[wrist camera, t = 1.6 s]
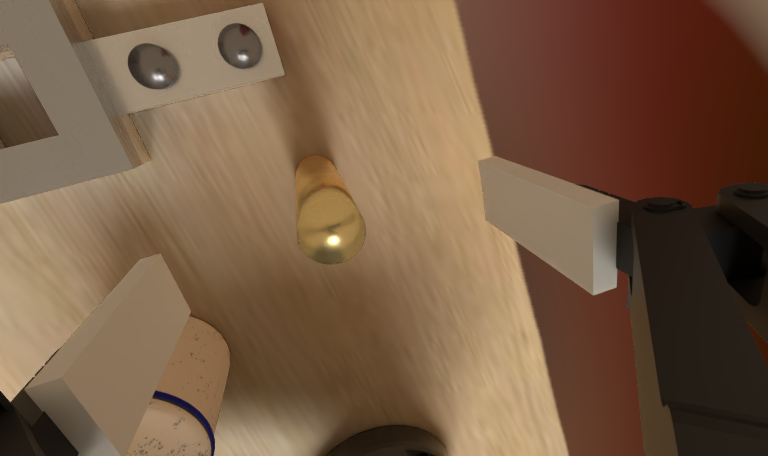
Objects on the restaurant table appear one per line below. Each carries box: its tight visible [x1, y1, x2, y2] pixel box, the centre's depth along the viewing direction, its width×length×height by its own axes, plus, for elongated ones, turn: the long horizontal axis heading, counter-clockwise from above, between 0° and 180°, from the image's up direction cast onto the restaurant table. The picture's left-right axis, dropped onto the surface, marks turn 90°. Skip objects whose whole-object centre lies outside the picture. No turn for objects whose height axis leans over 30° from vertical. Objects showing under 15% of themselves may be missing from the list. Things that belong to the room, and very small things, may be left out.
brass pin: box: [296, 156, 366, 264], centre depth 22 cm, size 3×3×12 cm
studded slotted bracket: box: [0, 0, 285, 204], centre depth 20 cm, size 10×30×4 cm, turn 103°
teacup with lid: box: [78, 316, 230, 456], centre depth 25 cm, size 12×9×12 cm
